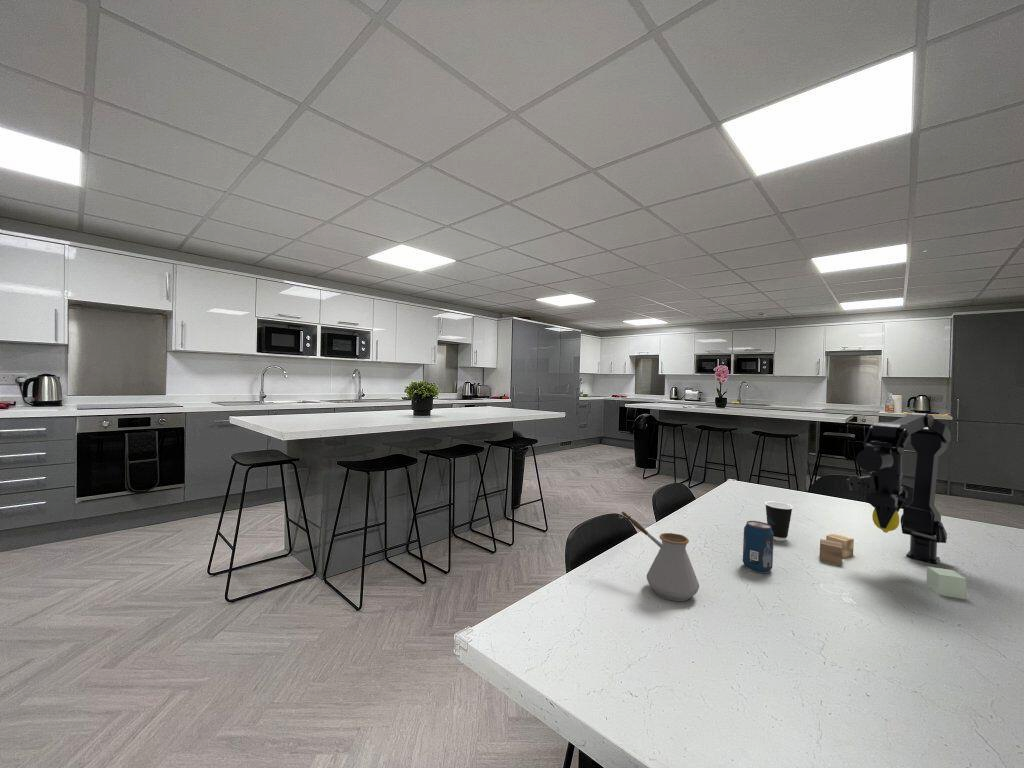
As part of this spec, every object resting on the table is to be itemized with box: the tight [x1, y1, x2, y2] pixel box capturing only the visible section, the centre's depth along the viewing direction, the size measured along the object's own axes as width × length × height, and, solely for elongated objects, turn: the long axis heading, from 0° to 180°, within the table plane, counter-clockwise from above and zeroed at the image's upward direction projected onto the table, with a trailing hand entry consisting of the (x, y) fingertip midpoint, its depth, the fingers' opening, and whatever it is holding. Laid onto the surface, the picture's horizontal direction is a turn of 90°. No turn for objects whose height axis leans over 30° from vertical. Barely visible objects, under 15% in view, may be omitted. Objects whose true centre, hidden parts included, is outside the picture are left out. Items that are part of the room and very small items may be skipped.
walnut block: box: [819, 538, 843, 566], centre depth 120 cm, size 5×5×5 cm
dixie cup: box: [764, 500, 794, 542], centre depth 137 cm, size 8×8×11 cm
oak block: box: [825, 533, 855, 559], centre depth 126 cm, size 5×5×5 cm
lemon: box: [871, 508, 900, 533], centre depth 114 cm, size 6×6×8 cm
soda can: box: [742, 520, 774, 574], centre depth 113 cm, size 7×7×12 cm
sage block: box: [925, 566, 967, 600], centre depth 103 cm, size 5×5×5 cm
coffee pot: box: [618, 511, 700, 602], centre depth 101 cm, size 21×12×15 cm, turn 37°
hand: (885, 525), depth 114 cm, fingers closed on lemon, 5 cm apart
